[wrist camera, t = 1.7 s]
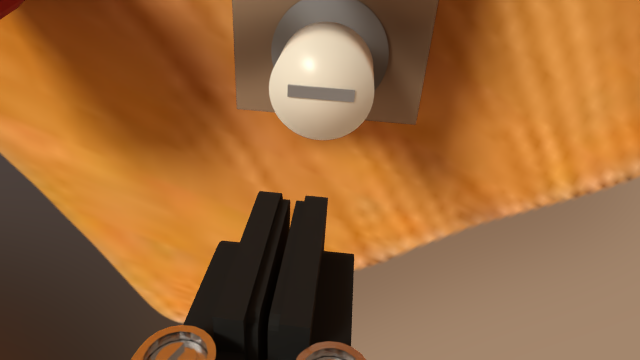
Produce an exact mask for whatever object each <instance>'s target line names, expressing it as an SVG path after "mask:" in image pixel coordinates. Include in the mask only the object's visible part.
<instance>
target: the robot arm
mask: <svg viewBox="0 0 640 360" xmlns="http://www.w3.org/2000/svg"><path fill="white" fill-rule="evenodd" d="M327 203H328V198H325V197H315V196H306V197H305V201H296V204H295V209H294V213H293V217H292V221H291V225H290V200H285V199H283V197H282V193H273V192H263V191H260V192H259V193H258V196H257V198H256V201H255V204H254V206H253V209H252V212H251V214H250V217H249V220H248V222H247V225H246V228H245V230H244V233H243V236H242V238H241V241H240V242H230V241H221V242H220V243H219V244H218V246H217V248H216V251H215V253H214V255H213V258H212V260H211V262H210V265H209V267H208V269H207V271H206V274H205V276H204V278H203V281H202V283H201V285H200V288H199V290H198V292H197V294H196V297H195V299H194V301H193V304H192V306H191V308H190V311H189V313H188V315H187V317H186V320H185V322H184V324H183V325H179V326H172V327H168V328H166V329H163V330H160V331H158V332H157V333H155V334H154V335H152V336H151V337H149V338H148V339H147V340H146V341H145V342H144V343H143V344H142V345H141V346H140V347H139V349H138V350H137V352H136V353H135V354H134V356H133V357H132V359H131V360H366V359H365V358H364V357H363V355H362V354H361V353H359V352H358V351H357V350H355V349H354V348H352V347H351V328H352V300H353V272H354V254H347V253H338V252H328V251H324V240H325V228H326V216H327ZM289 229H290V230H289Z"/></svg>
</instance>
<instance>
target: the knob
mask: <svg viewBox="0 0 640 360" xmlns="http://www.w3.org/2000/svg"><path fill="white" fill-rule="evenodd" d="M269 96H270V101H271V104H272V107H273V109H274V111H275V113H276V114H277V116H278V117H279V119H280V120H281V121H282V122H283V123H284V124H285V125H286V126H287V127H288V128H289V129H291V130H292V131H293V132H295V133H297V134H299V135H301V136H304V137H306V138H310V139H315V140H332V139H337V138H340V137H343V136H345V135H347V134H349V133H351V132H352V131H354V130H355V129H357V128H358V127H359V126H360V125H361V124H362V123H363V122H364V120H365V119H366V117H367V116H368V114H369V112H370V110H371V107H372V104H373V100H374V71H373V60H372V55H371V53H370V50H369V48H368V46H367V44H366V43H365V41H364V40H363V39H362V38H361V36H360V35H359V34H357V33H356V32H355V31H354V30H352V29H351V28H349V27H347V26H345V25H342V24H339V23H335V22H316V23H313V24H309V25H307V26H305V27H303V28H301V29H300V30H298V31H297V32H296V33H295V34H294V35H293V36H292V37H291V38H290V39H289V41H288V42H287V43H286V45H285V47H284V49H283V51H282V53H281V55H280V57H279V59H278V60H277V62H276V64H275V66H274V68H273V70H272V73H271V76H270V81H269Z"/></svg>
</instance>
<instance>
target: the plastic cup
mask: <svg viewBox="0 0 640 360" xmlns="http://www.w3.org/2000/svg"><path fill="white" fill-rule="evenodd" d="M24 1H25V0H0V19H2V18H3V17H5V16H6V15H8V14H9V13H11V12H12V11H14V10H15V9H17V8H18V7H19V6H20V5H21V4H22V3H23V2H24Z"/></svg>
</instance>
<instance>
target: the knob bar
mask: <svg viewBox="0 0 640 360" xmlns="http://www.w3.org/2000/svg"><path fill="white" fill-rule="evenodd" d="M438 1H439V0H232V8H233V31H234V54H235V78H236V101H237V109H243V110H254V111H266V112H275V111H274V109H273V107H272V104H271V101H270V96H269V81H270V76H271V73H272V70H273V68H274V66H275V64H276V62H277V60H278V59H279V57H280V55H281V53H282V51H283V49H284V47H285V45H286V43H287V42H288V41H289V39H290V38H291V37H292V36H293V35H294V34H295V33H296V32H297V31H298V30H300V29H301V28H303V27H305V26H307V25H309V24H313V23H316V22H335V23H339V24H342V25H345V26H347V27H349V28H351V29H352V30H354V31H355V32H356V33H357V34H359V35H360V36H361V38H362V39H363V40H364V41H365V43H366V44H367V46H368V48H369V50H370V53H371V55H372V60H373V71H374V100H373V104H372V107H371V110H370V112H369V114H368V116H367V117H366V119H365V120H368V121H379V122H391V123H402V124H414V125H416V120H417V115H418V109H419V104H420V98H421V93H422V88H423V82H424V77H425V71H426V66H427V61H428V55H429V50H430V44H431V39H432V34H433V28H434V23H435V17H436V12H437V6H438Z"/></svg>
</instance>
